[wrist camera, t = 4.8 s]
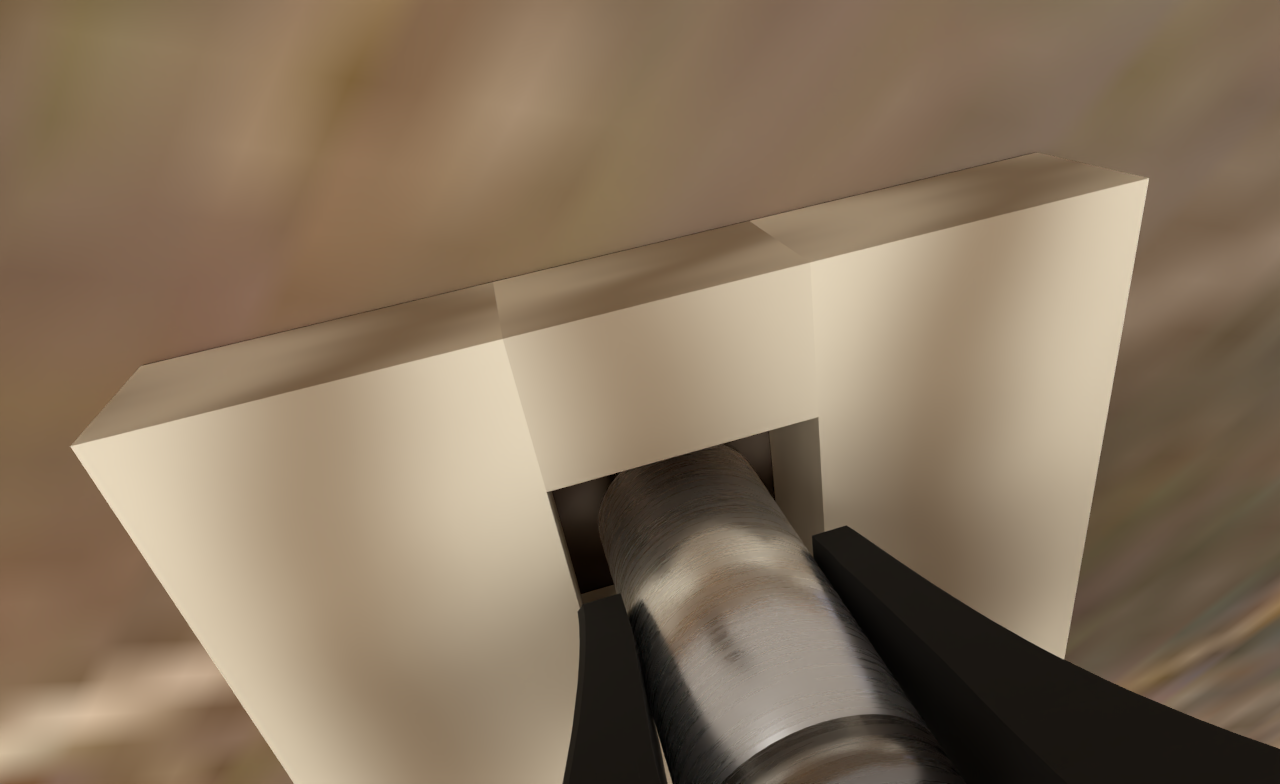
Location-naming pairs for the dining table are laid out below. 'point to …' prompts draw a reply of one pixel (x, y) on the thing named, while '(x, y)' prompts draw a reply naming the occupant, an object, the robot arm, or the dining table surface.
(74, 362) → the dining table surface
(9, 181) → the dining table surface
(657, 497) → the steel pin
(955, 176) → the block
